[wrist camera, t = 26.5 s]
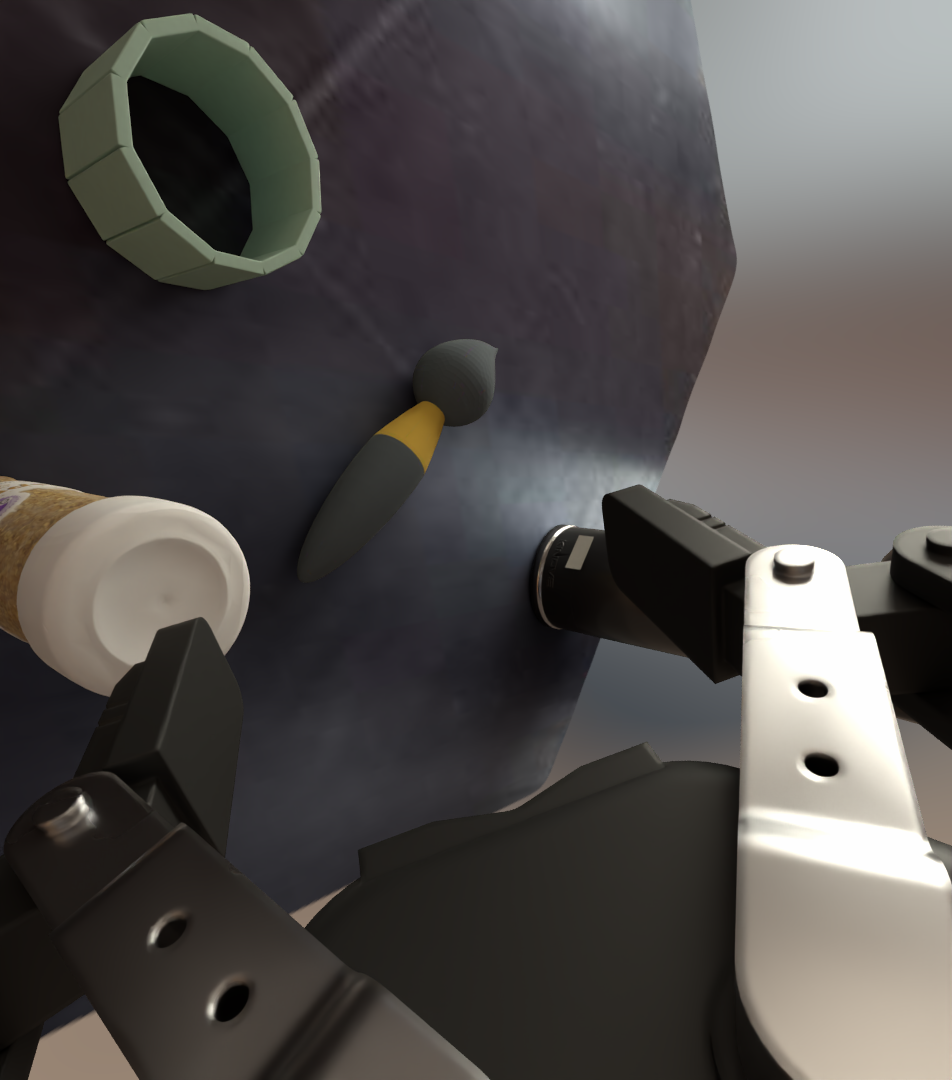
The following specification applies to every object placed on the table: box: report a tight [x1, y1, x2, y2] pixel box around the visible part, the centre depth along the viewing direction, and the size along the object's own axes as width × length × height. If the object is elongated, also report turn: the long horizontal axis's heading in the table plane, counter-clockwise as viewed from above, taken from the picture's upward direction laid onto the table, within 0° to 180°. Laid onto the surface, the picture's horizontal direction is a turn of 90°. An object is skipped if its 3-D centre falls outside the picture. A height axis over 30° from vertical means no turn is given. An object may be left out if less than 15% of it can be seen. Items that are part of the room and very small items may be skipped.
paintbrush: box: [297, 339, 498, 583], centre depth 35 cm, size 20×5×5 cm, turn 138°
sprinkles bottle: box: [0, 476, 250, 697], centre depth 18 cm, size 5×5×13 cm
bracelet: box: [58, 14, 321, 290], centre depth 24 cm, size 8×8×4 cm
